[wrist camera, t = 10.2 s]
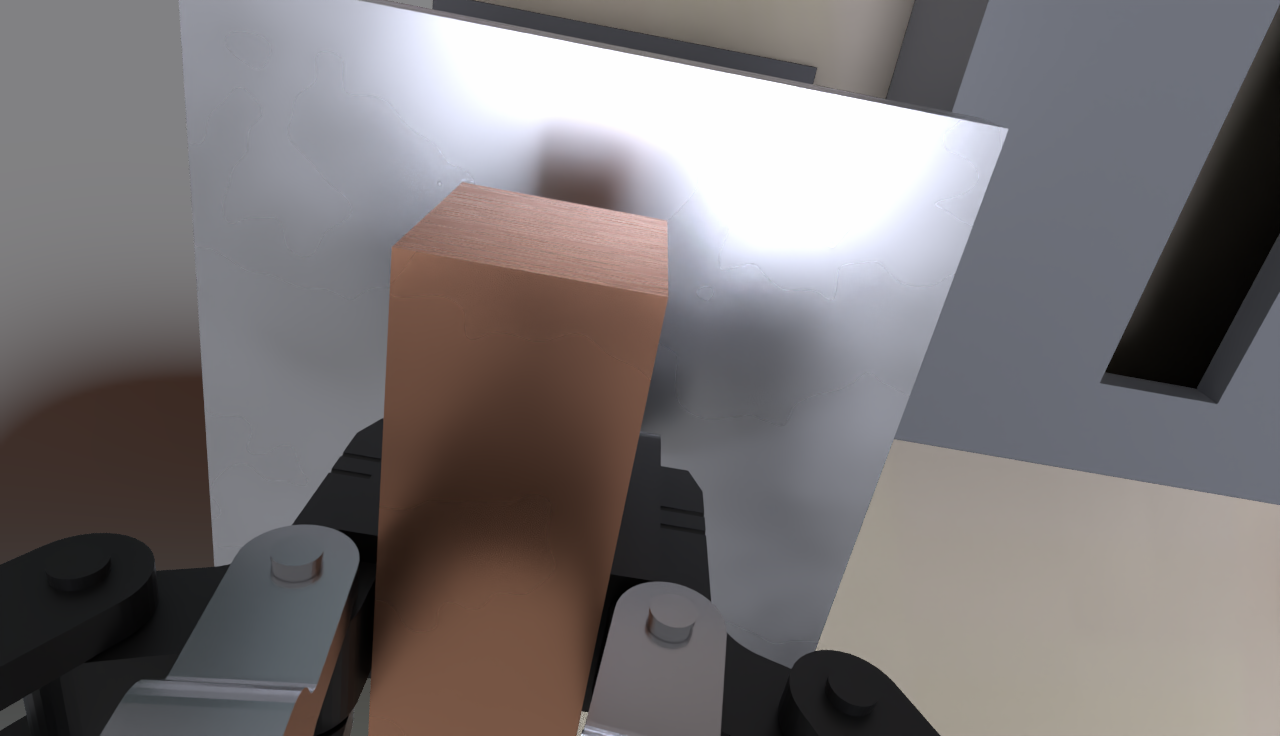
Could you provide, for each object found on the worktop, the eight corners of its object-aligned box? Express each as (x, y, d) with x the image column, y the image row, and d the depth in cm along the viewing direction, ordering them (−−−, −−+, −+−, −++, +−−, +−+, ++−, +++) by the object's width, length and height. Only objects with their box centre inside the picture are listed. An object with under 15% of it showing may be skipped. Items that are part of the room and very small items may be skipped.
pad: (729, 398, 30) (730, 403, 30) (415, 344, 29) (412, 348, 29) (814, 66, 25) (817, 67, 25) (436, -7, 24) (433, -7, 24)
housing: (1246, 427, 30) (1376, 521, 24) (811, 350, 29) (845, 430, 24) (1539, -78, 23) (1813, -103, 17) (974, -199, 22) (1077, -266, 17)
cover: (929, 98, 15) (1278, 232, 6) (771, 585, 20) (850, 1019, 12) (293, -28, 14) (-248, -65, 6) (296, 508, 19) (11, 906, 11)
